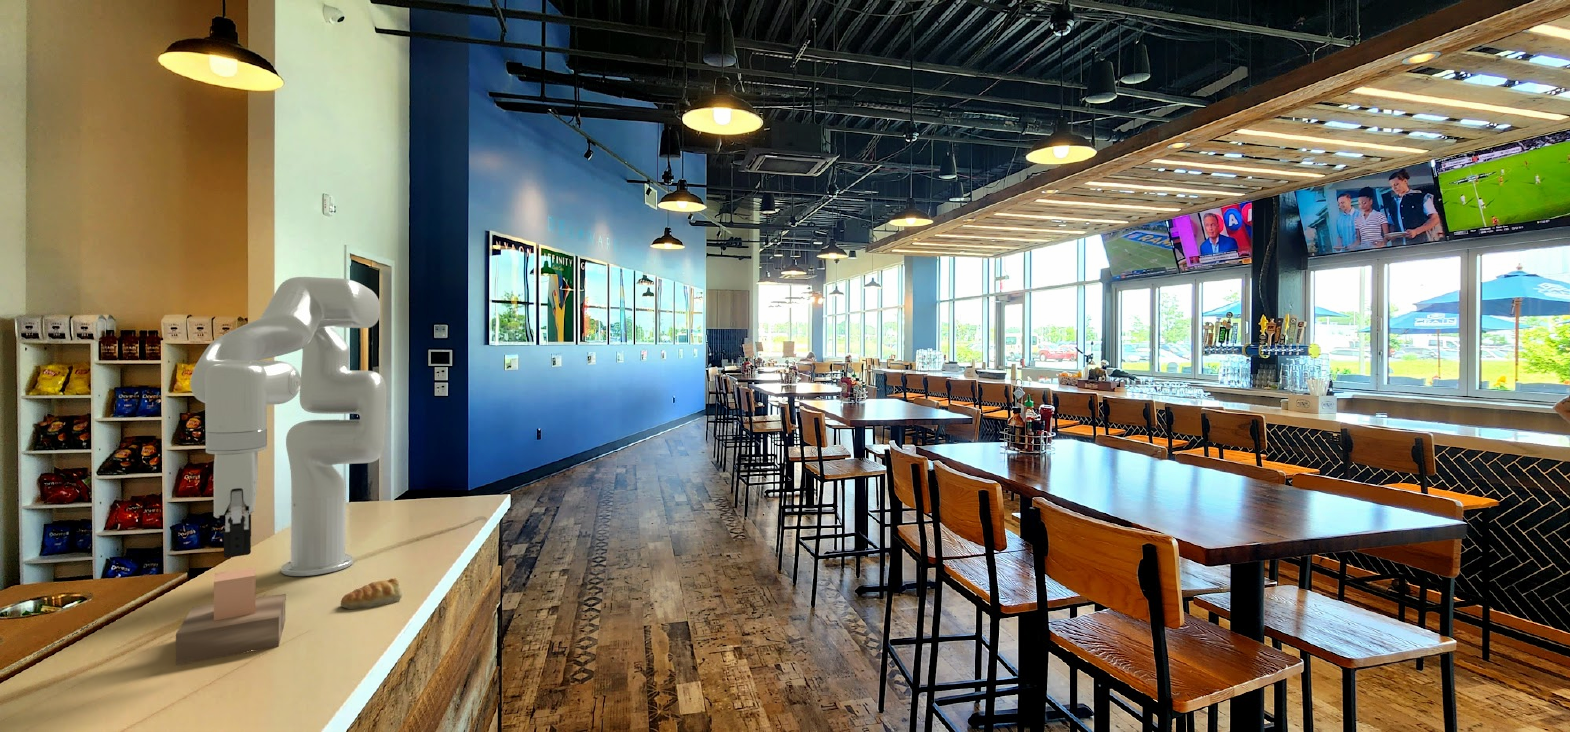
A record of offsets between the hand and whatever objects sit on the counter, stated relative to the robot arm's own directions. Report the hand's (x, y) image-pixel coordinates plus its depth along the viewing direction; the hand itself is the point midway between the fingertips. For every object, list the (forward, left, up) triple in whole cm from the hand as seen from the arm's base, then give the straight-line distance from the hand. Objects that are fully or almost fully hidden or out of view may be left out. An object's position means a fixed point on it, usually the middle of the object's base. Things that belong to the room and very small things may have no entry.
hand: (238, 547), depth 105 cm
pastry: (-6, +20, -15) cm, 26 cm away
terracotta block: (+1, 0, -10) cm, 10 cm away
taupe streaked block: (+1, 0, -15) cm, 15 cm away
